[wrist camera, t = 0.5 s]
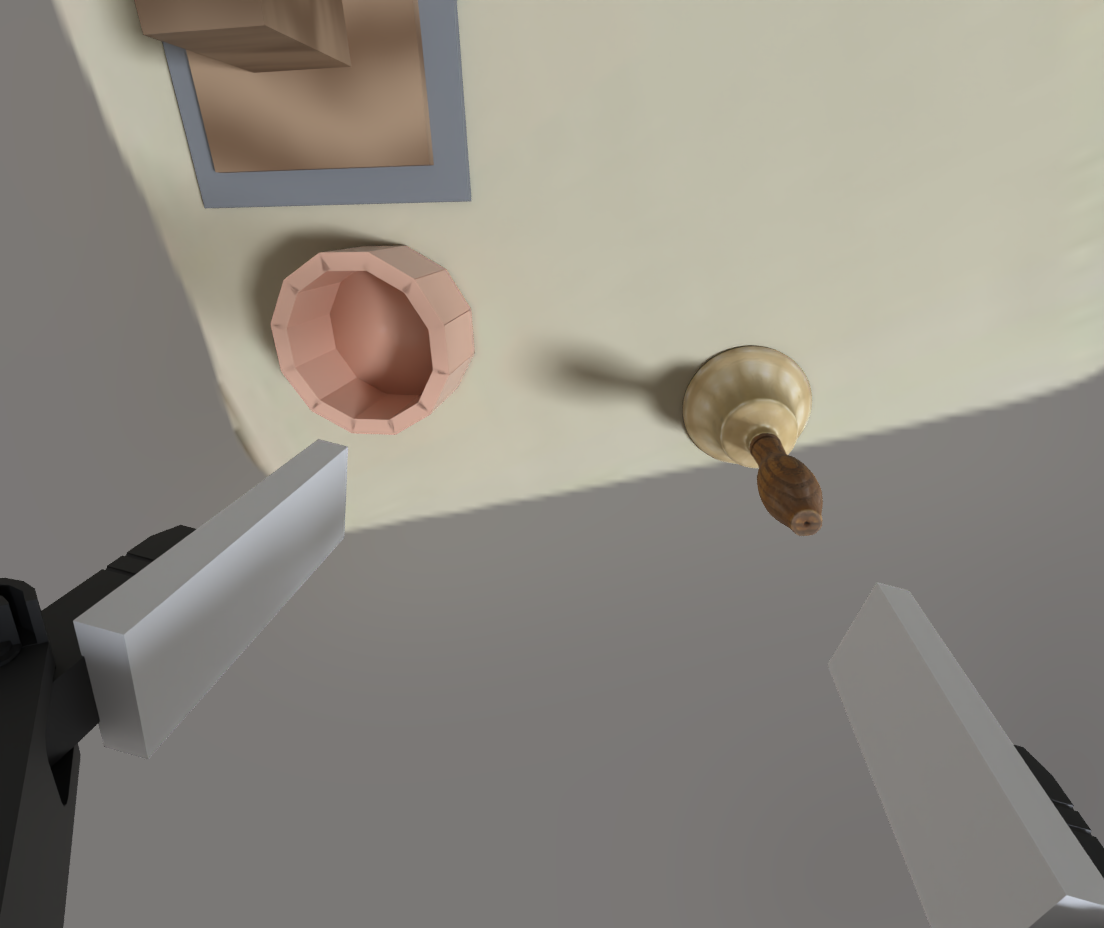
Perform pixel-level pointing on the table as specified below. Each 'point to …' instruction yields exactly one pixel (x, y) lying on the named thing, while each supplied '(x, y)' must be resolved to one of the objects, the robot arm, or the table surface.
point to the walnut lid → (303, 80)
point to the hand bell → (758, 427)
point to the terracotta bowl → (372, 336)
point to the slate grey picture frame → (352, 184)
